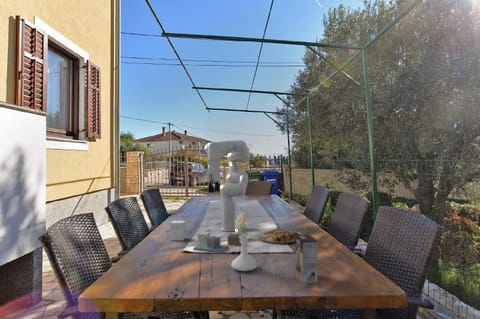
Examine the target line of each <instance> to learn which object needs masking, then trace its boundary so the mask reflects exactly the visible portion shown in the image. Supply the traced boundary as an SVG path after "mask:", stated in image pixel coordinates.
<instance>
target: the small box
mask: <svg viewBox="0 0 480 319" xmlns="http://www.w3.org/2000/svg"><path fill="white" fill-rule="evenodd" d="M169 223H170V224H169V232H170V233H169V234H170V236H169V238H170V241H184V240H185V239H187V235H186V234H187V231H186V230H187V226H186V220H172V221H171V222H169Z"/></svg>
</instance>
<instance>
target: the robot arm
mask: <svg viewBox="0 0 480 319" xmlns="http://www.w3.org/2000/svg"><path fill="white" fill-rule="evenodd" d="M204 151H205V153H206V155H207V170H206V172H207V173H206V182H207V190H208V193H209V194H211V193H214V192H219V194H220V200H221V201H220V202H221V207H220V208H221V209H220V210H221V211H220V214H221V223H220V224H221V226H219V228H218V229H219V231H222V232H235V228H236V227H234V226H235V224H236V223H235V221H236V202H235V200H234V199H233V198H242V197H244V196H245V194H246V190H247V187H248V183H249V175H248V173H247V172H245V171H241V167H240V166H239V164H238V163H248V162H249V161H250V159H251V153H250V151H249V148H248V145H247V144H246V142H245V140H243V139H242V140H241V139H240V140H237V139H235V140H225V141H211V142H208V143H207V144H206V145H205V147H204ZM222 155H226V158H227V164H228V165H227V166H228V171H227V172H226V177H225V182H224V183H222V184H221V170H220V166H221V156H222Z"/></svg>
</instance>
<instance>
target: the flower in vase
mask: <svg viewBox="0 0 480 319" xmlns="http://www.w3.org/2000/svg"><path fill="white" fill-rule="evenodd" d="M246 218H247V214H246V212H244V211H241V212H240V213H239V214H238V215H237V216H236V219H235V226H234V227H236V228H235V229H238V228H241V232H243V233H244V235H240V236H238V237H239V238H240V244H241V251H240V252H241V253H240V254H239V255H238V256H236V258H235V259H233V261H231V264H230V265H231V268H232V269H234V270H236V271H239V272H249V271H253V270H255V269H257V267H258V262H257V261H256V260H255V258H253V257H252V256H251V255H250V254H248V253H249V252H248V241H249V240H250V237H251V236H250V235H248V230H247V227H246V224H245V221H246ZM243 227H244V229H243Z"/></svg>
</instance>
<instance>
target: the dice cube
mask: <svg viewBox="0 0 480 319" xmlns="http://www.w3.org/2000/svg"><path fill="white" fill-rule="evenodd" d="M206 244H207V247H209V248H212V249H215V248H218V247H220V245H221V236H216V235H210V237H207V243H206Z"/></svg>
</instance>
